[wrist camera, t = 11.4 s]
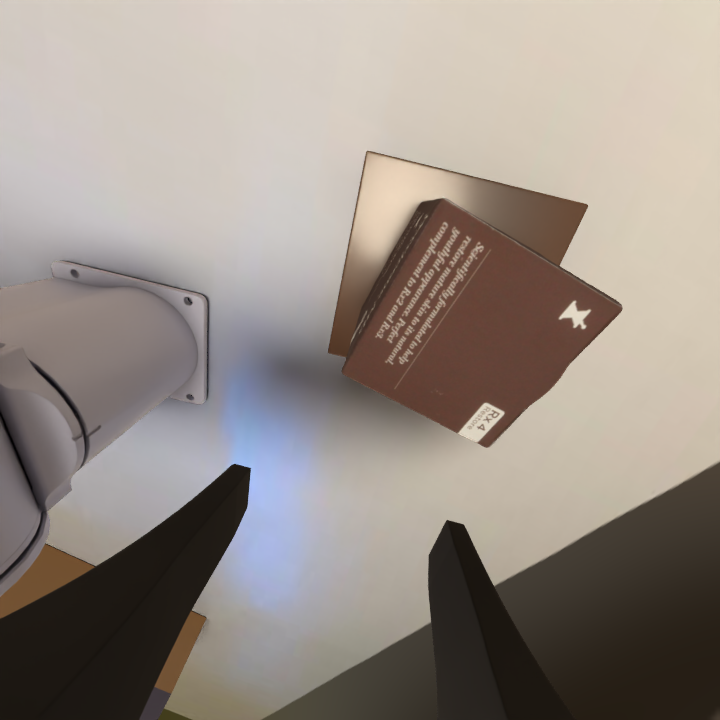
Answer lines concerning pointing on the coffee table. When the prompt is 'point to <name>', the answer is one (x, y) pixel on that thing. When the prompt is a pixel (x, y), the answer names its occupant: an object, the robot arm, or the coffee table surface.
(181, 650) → the toy building blocks
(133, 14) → the coffee table surface
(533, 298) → the box
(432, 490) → the coffee table surface
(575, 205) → the copper block
